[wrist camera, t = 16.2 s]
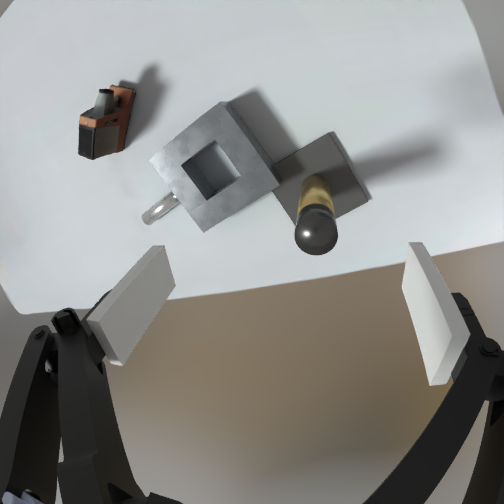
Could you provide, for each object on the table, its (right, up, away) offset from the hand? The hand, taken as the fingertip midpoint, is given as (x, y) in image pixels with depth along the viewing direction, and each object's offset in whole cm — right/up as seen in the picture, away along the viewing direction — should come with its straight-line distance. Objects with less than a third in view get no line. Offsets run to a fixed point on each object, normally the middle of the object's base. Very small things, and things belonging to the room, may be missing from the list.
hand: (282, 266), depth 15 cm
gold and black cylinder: (+6, +9, +21) cm, 24 cm away
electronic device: (-21, +20, +21) cm, 36 cm away
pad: (+6, +9, +21) cm, 24 cm away
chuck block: (-9, +10, +24) cm, 28 cm away
